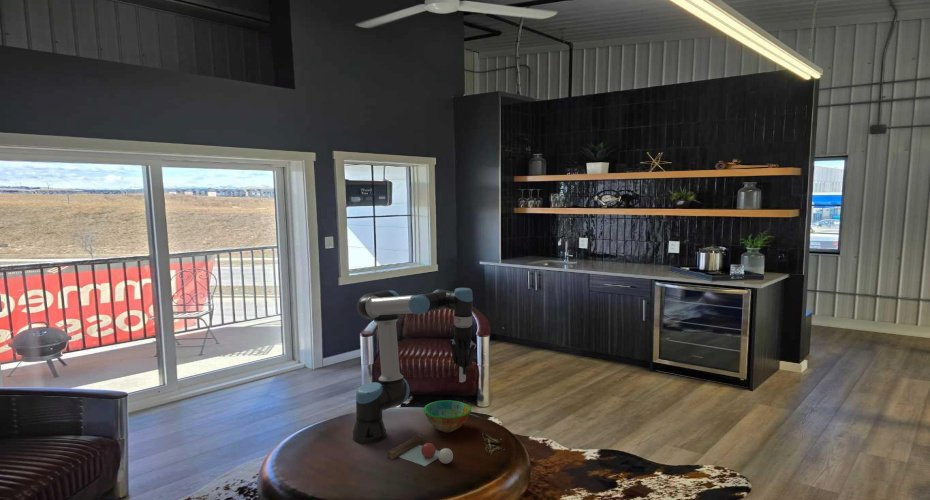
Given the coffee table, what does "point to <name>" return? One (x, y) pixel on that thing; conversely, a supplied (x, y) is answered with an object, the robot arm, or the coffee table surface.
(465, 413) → the bowl
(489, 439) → the butterfly
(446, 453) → the white ball
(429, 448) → the red ball
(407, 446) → the strip
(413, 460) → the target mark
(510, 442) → the coffee table surface
